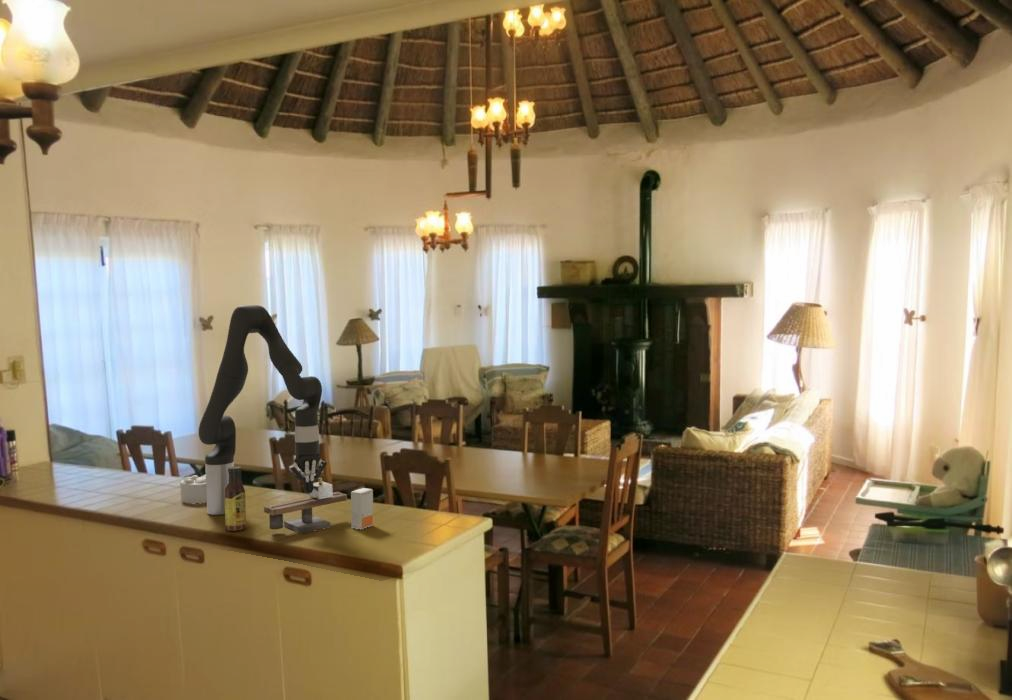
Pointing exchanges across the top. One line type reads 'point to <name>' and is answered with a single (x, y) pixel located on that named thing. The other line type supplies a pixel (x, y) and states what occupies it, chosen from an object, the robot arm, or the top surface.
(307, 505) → the balance beam
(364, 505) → the skincare box
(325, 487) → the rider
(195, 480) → the lumpy-topped squat cylinder
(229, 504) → the sauce bottle
